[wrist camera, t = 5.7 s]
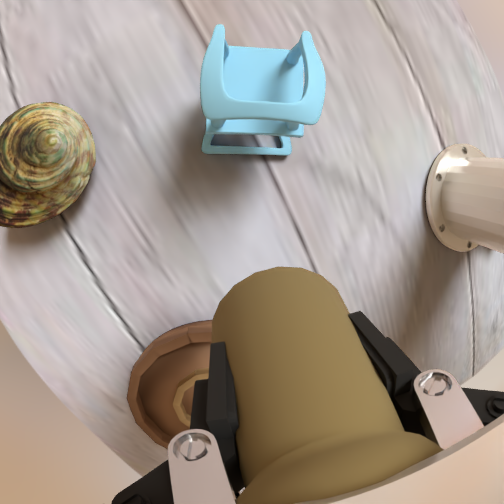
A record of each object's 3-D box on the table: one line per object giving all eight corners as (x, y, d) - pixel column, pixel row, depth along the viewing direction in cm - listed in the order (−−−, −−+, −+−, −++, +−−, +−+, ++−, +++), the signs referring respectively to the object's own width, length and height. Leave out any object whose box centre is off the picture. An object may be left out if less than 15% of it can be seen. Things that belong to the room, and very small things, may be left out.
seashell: (20, 119, 22) (-42, 108, 13) (113, 109, 24) (63, 81, 14) (15, 219, 25) (-47, 239, 15) (105, 222, 26) (53, 247, 16)
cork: (227, 252, 12) (245, 593, 1) (365, 280, 13) (559, 463, 2) (200, 377, 13) (189, 617, 3) (321, 391, 14) (403, 585, 3)
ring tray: (335, 345, 32) (342, 357, 29) (268, 456, 36) (271, 469, 33) (151, 294, 28) (145, 304, 26) (124, 426, 32) (120, 439, 30)
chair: (290, 71, 24) (334, 11, 13) (289, 156, 26) (339, 142, 15) (205, 67, 24) (197, -1, 12) (201, 154, 26) (187, 135, 14)
